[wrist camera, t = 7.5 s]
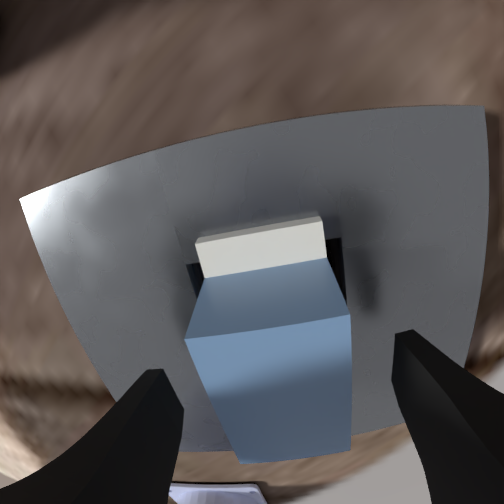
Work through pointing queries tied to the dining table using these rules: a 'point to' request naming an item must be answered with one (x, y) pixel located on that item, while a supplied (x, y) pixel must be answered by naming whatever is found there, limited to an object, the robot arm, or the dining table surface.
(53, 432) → the dining table surface
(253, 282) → the block
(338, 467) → the dining table surface
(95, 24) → the dining table surface
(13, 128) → the dining table surface
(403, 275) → the plate
